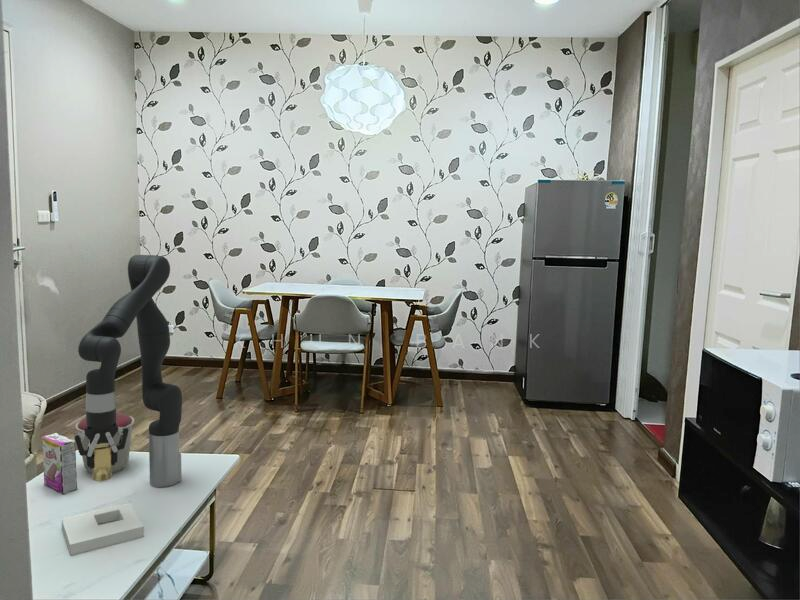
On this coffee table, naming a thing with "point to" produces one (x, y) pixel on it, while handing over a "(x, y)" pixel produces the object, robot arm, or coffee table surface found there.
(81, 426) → the canister
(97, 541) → the jig
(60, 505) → the coffee table surface
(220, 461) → the coffee table surface
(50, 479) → the candy bar box
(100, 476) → the gold metal peg
